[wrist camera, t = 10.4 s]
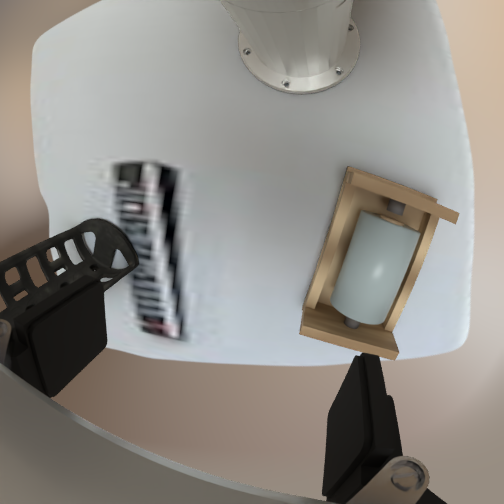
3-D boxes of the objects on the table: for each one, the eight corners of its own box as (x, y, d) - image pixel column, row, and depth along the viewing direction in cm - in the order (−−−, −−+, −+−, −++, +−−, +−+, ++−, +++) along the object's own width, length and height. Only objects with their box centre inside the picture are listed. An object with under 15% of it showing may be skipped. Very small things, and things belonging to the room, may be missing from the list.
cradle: (347, 166, 29) (355, 166, 23) (434, 198, 28) (461, 207, 22) (302, 306, 34) (297, 338, 28) (382, 329, 33) (392, 364, 27)
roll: (357, 204, 29) (368, 214, 24) (410, 222, 29) (430, 236, 23) (327, 289, 32) (330, 316, 27) (378, 304, 32) (389, 332, 26)
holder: (145, 237, 36) (17, 322, 18) (138, 288, 39) (33, 380, 21) (81, 208, 37) (-41, 264, 19) (79, 256, 40) (-26, 322, 22)
